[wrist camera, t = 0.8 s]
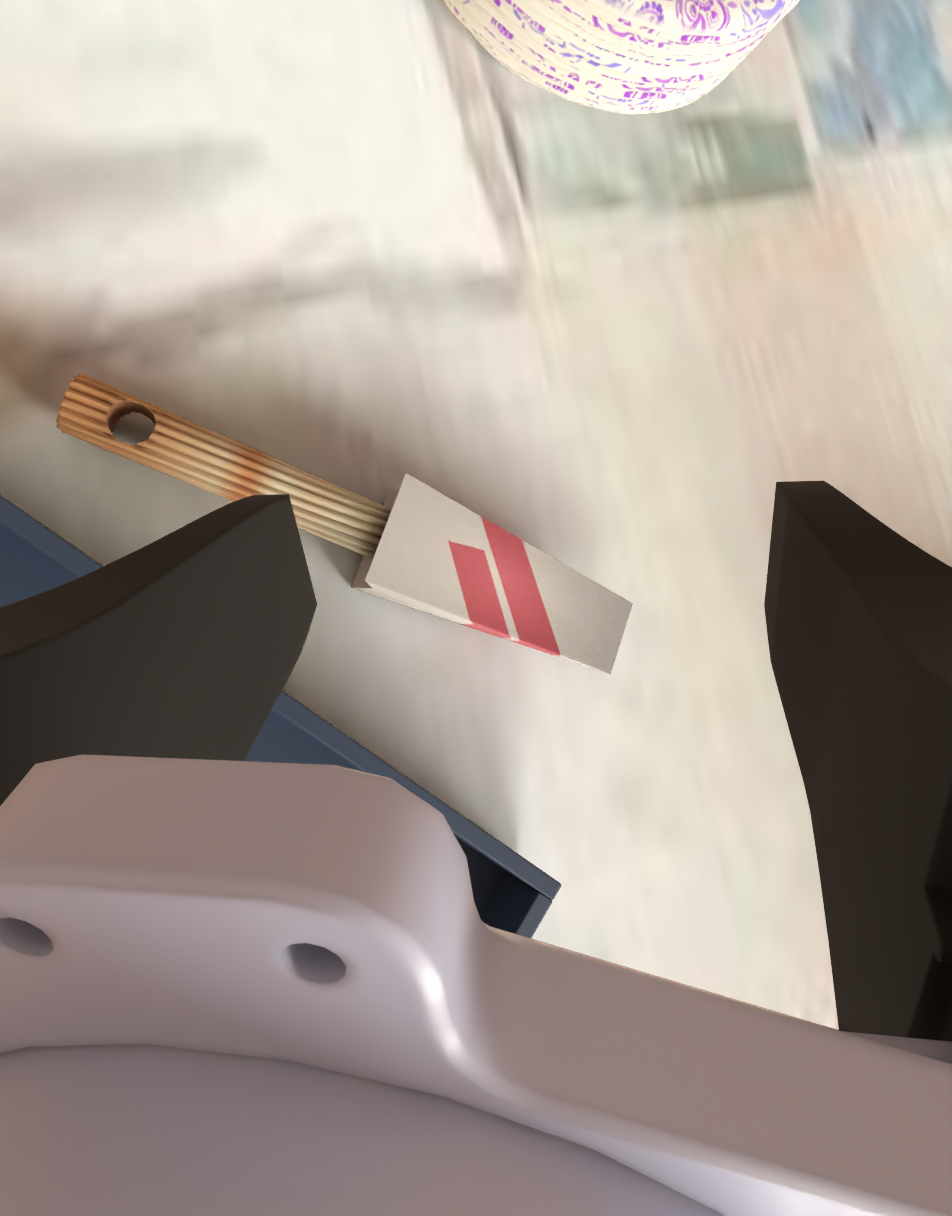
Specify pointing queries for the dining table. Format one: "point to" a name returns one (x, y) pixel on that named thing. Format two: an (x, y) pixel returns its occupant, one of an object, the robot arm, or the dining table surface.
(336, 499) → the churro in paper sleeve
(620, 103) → the paper bowls
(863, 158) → the dining table surface
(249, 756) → the tray
